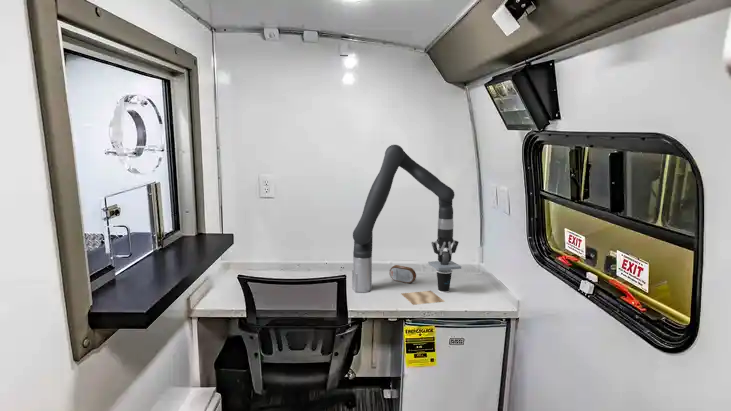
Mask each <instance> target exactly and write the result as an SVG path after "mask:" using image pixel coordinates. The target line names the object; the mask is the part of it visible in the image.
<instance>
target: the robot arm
mask: <svg viewBox="0 0 731 411" xmlns="http://www.w3.org/2000/svg"><path fill="white" fill-rule="evenodd" d="M399 168H401V169H402V170H405V171H406V173H408V174H410V175H411V176H412V177H413V178H414V179H415V180H416V181H417V182H418V183H419V184H421V185H422V186H423V187H425V188H426V189H427V190H429V191H430V192H432V193H433V194H434V195H435V196H436V197H438V217H437V239H436V241H431V247H432V250H433V252H434V254H437V261H439V262H442V252H443V251H445V249H446V251H447V252H449V262H450V260H451V261H452V256H453V255H452V254H454V253H455V254H456V251H457V248H458V246H459V243H460V242H459V241H458V240H454V207H453V200H454V198H455V196H456V195H455V191H454V190H453V189H452V188H451V187H450V186H449V185H447V184H445V183H444V182H442V180H440V179H439V178H438V177H437V176H436V175H435V174H433V173H432V172H430V171H429V170H428V169H426V168H425V167H423V166H421V165H420V164H419V163H418V162H417V161H415V160H414V159H413V158H411V157H410V156H409V154H408V153H406V151H404V148H403V147H401V146H400V145H398V144H390V145H389V146H388V147H387V148H386V150H385V152H384V157H383V161H382V163H381V167H380V170H379V172H378V174H377V175H376V177H375V179H374V181H373V183H372V185H371V187H370V189H369V192H368V194H367V197H366V200H365V202H364V207H363V211H362V214H361V216H360V219H359V220H358V222H357V224H356V227H355V228H354V230H353V232H352V238H353V250H352V253H353V260H352V261H353V263H352V266H353V267H352V268H353V269H352V271H351V281H352V282H351V284H352V285H351V288H352V290H353V291H354V292H355V293H369V292H371V291H372V290H373V289H372V288H373V285H372V282H373V280H372V279H373V276H372V275H373V273H372V272H373V269H372V268H373V237H374V236H373V230H374V227H375V224H376V221H377V219H378V217H379V216H380V215H381V212H382V210H383V208H384V207H385V204H386V202H387V200H388V197H389V195H390V192H391V190H392V185H393V183H394V178H395V175H396V173H397V171H398V169H399Z"/></svg>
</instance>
